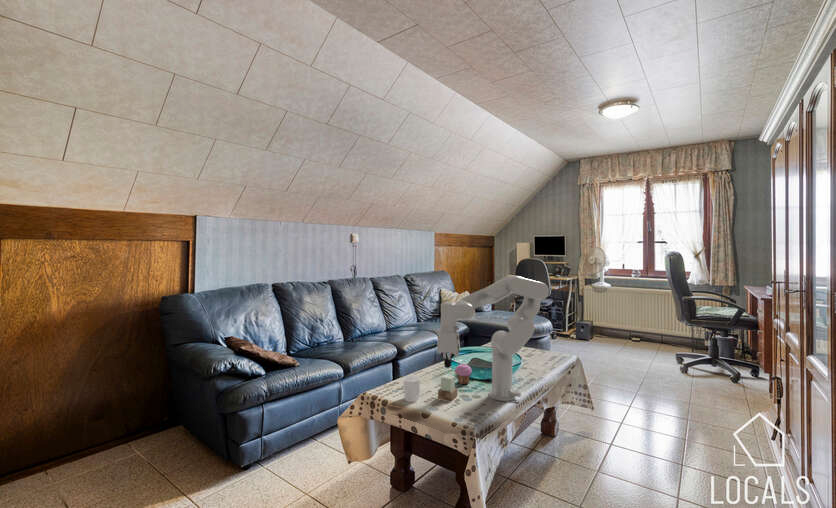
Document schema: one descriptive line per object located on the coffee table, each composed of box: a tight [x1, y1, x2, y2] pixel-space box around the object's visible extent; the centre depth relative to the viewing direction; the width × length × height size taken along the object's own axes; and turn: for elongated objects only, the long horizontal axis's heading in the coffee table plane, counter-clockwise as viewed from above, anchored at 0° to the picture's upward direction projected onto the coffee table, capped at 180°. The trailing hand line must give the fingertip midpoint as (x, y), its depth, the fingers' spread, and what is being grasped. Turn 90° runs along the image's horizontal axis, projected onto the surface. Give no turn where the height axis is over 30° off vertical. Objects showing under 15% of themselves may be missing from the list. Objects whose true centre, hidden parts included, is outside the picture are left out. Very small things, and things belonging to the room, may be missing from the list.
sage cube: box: [440, 374, 456, 392], centre depth 186 cm, size 5×5×6 cm
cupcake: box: [454, 363, 473, 385], centre depth 208 cm, size 9×9×10 cm
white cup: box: [403, 375, 421, 403], centre depth 183 cm, size 8×8×10 cm
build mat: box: [435, 395, 460, 403], centre depth 186 cm, size 18×12×1 cm, turn 63°
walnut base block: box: [437, 387, 458, 402], centre depth 186 cm, size 7×7×4 cm
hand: (447, 367), depth 186 cm, fingers closed
